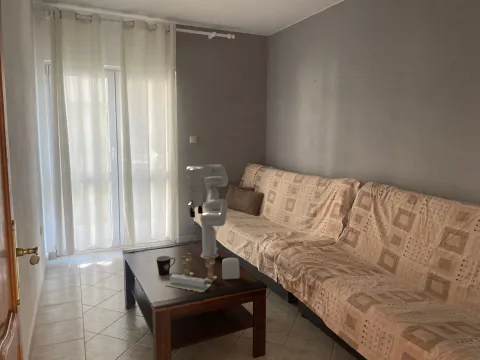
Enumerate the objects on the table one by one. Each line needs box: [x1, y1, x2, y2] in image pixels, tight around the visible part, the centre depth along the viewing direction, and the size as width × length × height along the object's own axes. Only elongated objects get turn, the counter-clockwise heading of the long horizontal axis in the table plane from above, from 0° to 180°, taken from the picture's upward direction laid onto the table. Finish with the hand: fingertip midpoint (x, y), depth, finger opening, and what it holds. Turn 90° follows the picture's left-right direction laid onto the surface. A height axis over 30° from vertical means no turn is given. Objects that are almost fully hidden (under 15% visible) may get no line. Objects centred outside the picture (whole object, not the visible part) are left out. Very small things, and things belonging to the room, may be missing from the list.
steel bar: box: [169, 273, 208, 289], centre depth 202 cm, size 4×22×4 cm, turn 67°
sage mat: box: [164, 281, 212, 293], centre depth 202 cm, size 10×24×1 cm, turn 67°
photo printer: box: [221, 257, 241, 280], centre depth 212 cm, size 10×4×12 cm, turn 96°
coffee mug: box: [155, 255, 176, 277], centre depth 220 cm, size 12×9×10 cm
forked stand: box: [181, 252, 218, 284], centre depth 212 cm, size 7×21×13 cm, turn 67°
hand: (196, 215), depth 222 cm, fingers open, 9 cm apart
